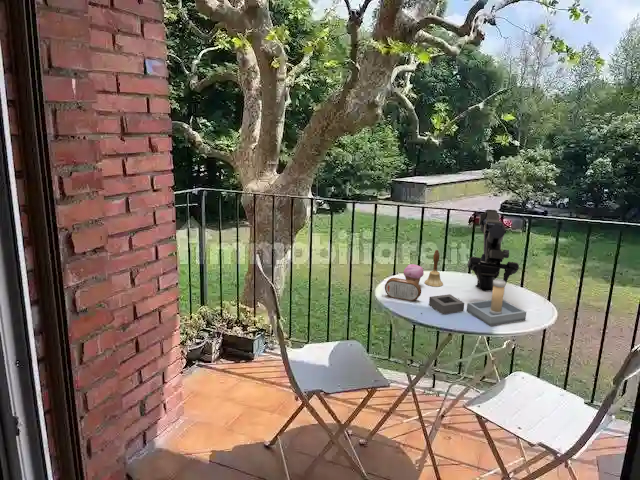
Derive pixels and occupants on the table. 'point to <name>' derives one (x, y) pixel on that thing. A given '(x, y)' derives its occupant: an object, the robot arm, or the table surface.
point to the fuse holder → (446, 304)
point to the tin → (403, 289)
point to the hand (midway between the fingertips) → (492, 284)
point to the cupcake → (413, 272)
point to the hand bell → (434, 273)
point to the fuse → (497, 297)
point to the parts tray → (507, 316)
